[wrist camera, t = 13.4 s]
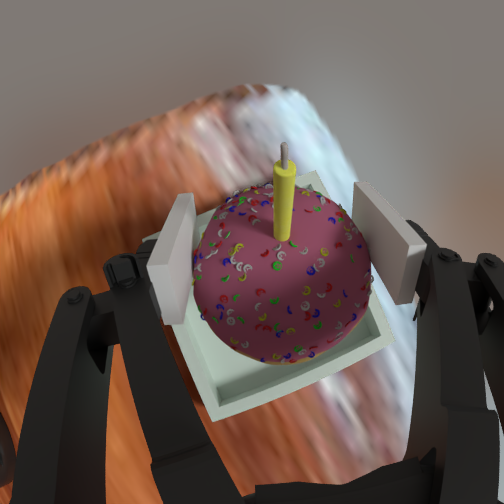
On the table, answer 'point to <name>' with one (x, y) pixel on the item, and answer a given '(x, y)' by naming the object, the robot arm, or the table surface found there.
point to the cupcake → (281, 271)
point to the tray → (260, 374)
